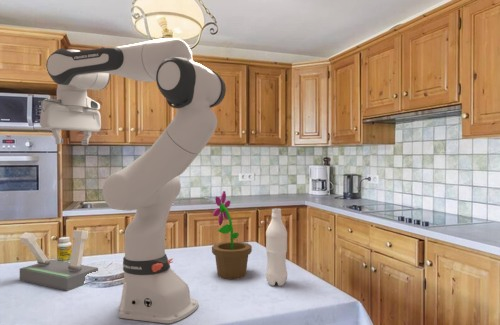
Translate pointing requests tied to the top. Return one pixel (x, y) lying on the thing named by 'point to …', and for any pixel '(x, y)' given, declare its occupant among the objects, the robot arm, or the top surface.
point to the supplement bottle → (64, 249)
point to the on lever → (34, 247)
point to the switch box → (55, 275)
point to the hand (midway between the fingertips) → (72, 144)
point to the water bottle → (276, 250)
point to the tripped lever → (77, 249)
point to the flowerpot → (229, 247)
